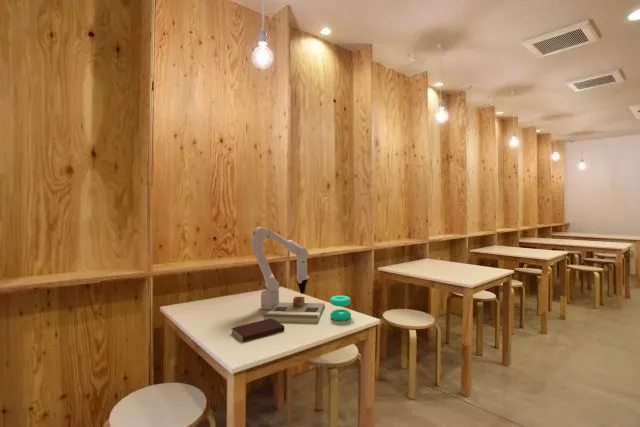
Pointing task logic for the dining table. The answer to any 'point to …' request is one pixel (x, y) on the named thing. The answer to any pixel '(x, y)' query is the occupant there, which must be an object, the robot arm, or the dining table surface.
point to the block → (298, 302)
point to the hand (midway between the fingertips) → (302, 293)
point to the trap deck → (295, 312)
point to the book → (257, 329)
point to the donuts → (340, 313)
